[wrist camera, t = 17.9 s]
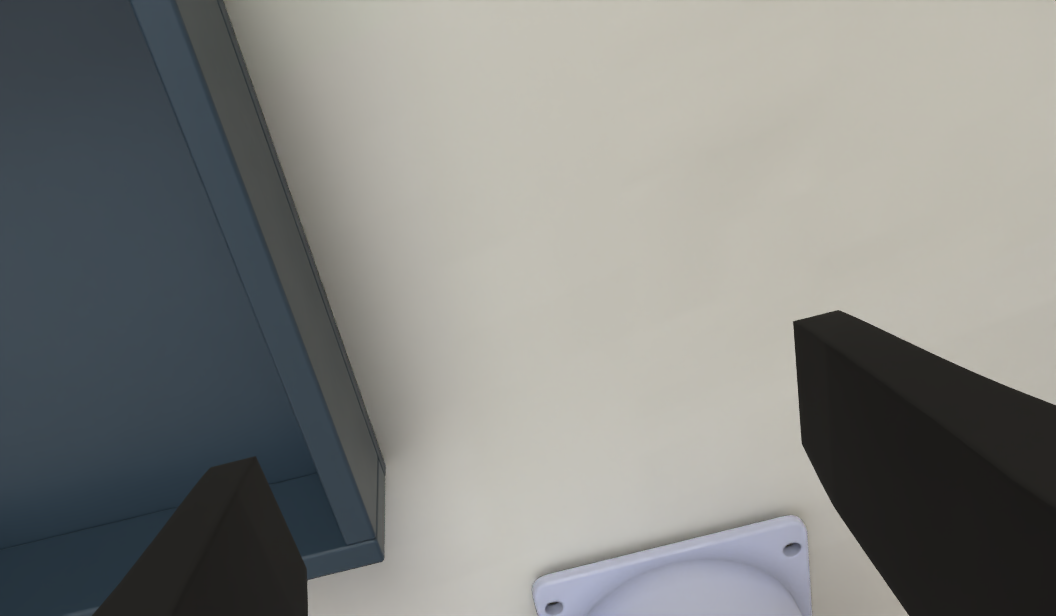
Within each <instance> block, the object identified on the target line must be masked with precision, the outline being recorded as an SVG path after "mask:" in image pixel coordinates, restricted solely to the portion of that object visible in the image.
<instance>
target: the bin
mask: <svg viewBox="0 0 1056 616" xmlns="http://www.w3.org/2000/svg"><path fill="white" fill-rule="evenodd" d="M254 456H256V457H257V460H258V462H259V464H260V466H261V468H262V471H263V473H264V475H265V477H266V479H267V482H268V484H269V486H270V488H271V491H272V493H273V495H274V497H275V499H276V502H277V504H278V506H279V508H280V510H281V513H282V515H283V517H284V519H285V521H286V524H287V526H288V528H289V530H290V533H291V535H292V537H293V539H294V541H295V544H296V546H297V548H298V550H299V552H300V555H301V557H302V559H303V561H304V564H305V566H306V568H307V580H310V579H314V578H318V577H322V576H326V575H330V574H334V573H338V572H342V571H346V570H350V569H354V568H359V567H363V566H367V565H371V564H375V563H379V562H382V561H383V560H384V544H385V463H384V460H383V457H382V454H381V451H380V448H379V446H378V443H377V440H376V437H375V434H374V431H373V428H372V426H371V423H370V420H369V417H368V414H367V411H366V408H365V406H364V403H363V400H362V397H361V394H360V391H359V388H358V386H357V383H356V380H355V377H354V374H353V371H352V368H351V365H350V363H349V360H348V357H347V354H346V351H345V348H344V345H343V343H342V340H341V337H340V334H339V331H338V328H337V325H336V323H335V320H334V317H333V314H332V311H331V308H330V305H329V302H328V300H327V297H326V294H325V291H324V288H323V285H322V282H321V280H320V277H319V274H318V271H317V268H316V265H315V262H314V260H313V257H312V254H311V251H310V248H309V245H308V242H307V240H306V237H305V234H304V231H303V228H302V225H301V222H300V219H299V217H298V214H297V211H296V208H295V205H294V202H293V199H292V197H291V194H290V191H289V188H288V185H287V182H286V179H285V177H284V174H283V171H282V168H281V165H280V162H279V159H278V156H277V154H276V151H275V148H274V145H273V142H272V139H271V136H270V134H269V131H268V128H267V125H266V122H265V119H264V116H263V114H262V111H261V108H260V105H259V102H258V99H257V96H256V94H255V91H254V88H253V85H252V82H251V79H250V76H249V73H248V71H247V68H246V65H245V62H244V59H243V56H242V53H241V51H240V48H239V45H238V42H237V39H236V36H235V33H234V31H233V28H232V25H231V22H230V19H229V16H228V13H227V10H226V8H225V5H224V2H223V0H0V616H92V615H93V614H94V613H95V611H96V610H97V609H98V608H99V607H100V606H101V604H102V603H103V602H104V601H105V600H106V598H107V597H108V596H109V595H110V594H111V593H112V591H113V590H114V589H115V588H116V587H117V585H118V584H119V583H120V582H121V581H122V579H123V578H124V577H125V575H126V574H127V573H128V572H129V570H130V569H131V568H132V566H133V565H134V564H135V563H136V561H137V560H138V559H139V557H140V556H141V555H142V554H143V552H144V551H145V550H146V549H147V547H148V546H149V545H150V543H151V542H152V541H153V540H154V538H155V537H156V536H157V534H158V533H159V532H160V530H161V529H162V528H163V527H164V525H165V524H166V523H167V521H168V520H169V519H170V517H171V516H172V515H173V513H174V512H175V511H176V509H177V508H178V507H179V506H180V504H181V503H182V502H183V500H184V499H185V498H186V496H187V495H188V494H189V493H190V491H191V490H192V489H193V487H194V486H195V485H196V484H197V482H198V481H199V480H200V479H201V477H202V476H203V475H204V474H205V473H206V472H207V470H208V469H209V468H210V467H214V466H218V465H222V464H226V463H230V462H234V461H238V460H242V459H246V458H250V457H254Z"/></svg>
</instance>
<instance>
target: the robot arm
mask: <svg viewBox="0 0 1056 616" xmlns="http://www.w3.org/2000/svg"><path fill="white" fill-rule="evenodd" d="M793 325H794V339H795V353H796V368H797V382H798V396H799V411H800V425H801V439H802V445H803V447H804V449H805V451H806V453H807V455H808V457H809V459H810V461H811V463H812V465H813V467H814V469H815V471H816V473H817V475H818V477H819V479H820V481H821V483H822V485H823V487H824V489H825V491H826V493H827V495H828V496H829V498H830V500H831V502H832V504H833V506H834V507H835V509H836V510H837V512H838V513H839V515H840V516H841V518H842V519H843V521H844V522H845V524H846V525H847V527H848V528H849V530H850V531H851V533H852V534H853V535H854V537H855V538H856V540H857V541H858V543H859V544H860V546H861V547H862V549H863V550H864V551H865V553H866V554H867V556H868V557H869V559H870V560H871V562H872V563H873V564H874V566H875V567H876V569H877V570H878V572H879V573H880V574H881V576H882V577H883V579H884V580H885V582H886V583H887V584H888V586H889V587H890V589H891V590H892V592H893V593H894V595H895V596H896V597H897V599H898V600H899V602H900V603H901V605H902V606H903V607H904V609H905V610H906V612H907V613H908V615H909V616H1056V405H1053V404H1051V403H1048V402H1046V401H1043V400H1040V399H1038V398H1035V397H1033V396H1030V395H1028V394H1025V393H1022V392H1020V391H1017V390H1015V389H1012V388H1010V387H1007V386H1005V385H1002V384H1000V383H998V382H995V381H993V380H990V379H988V378H986V377H983V376H981V375H979V374H976V373H974V372H972V371H970V370H967V369H965V368H963V367H961V366H958V365H956V364H954V363H952V362H949V361H947V360H945V359H943V358H941V357H939V356H936V355H934V354H932V353H930V352H928V351H926V350H924V349H921V348H919V347H917V346H915V345H913V344H911V343H909V342H907V341H905V340H902V339H900V338H898V337H896V336H894V335H892V334H890V333H888V332H886V331H884V330H881V329H879V328H877V327H875V326H873V325H871V324H869V323H867V322H865V321H862V320H860V319H858V318H856V317H853V316H851V315H849V314H846V313H844V312H842V311H839V310H837V311H833V312H829V313H825V314H821V315H817V316H813V317H809V318H805V319H801V320H797V321H793ZM790 543H793V544H792V545H790V546H788V547H785V546H786V545H788V544H790ZM532 594H533V599H534V603H535V607H536V610H537V614H538V616H812V602H811V585H810V568H809V551H808V533H807V529H806V526H805V525H804V523H803V521H802V520H801V519H800V518H799V517H798V516H794V515H786V516H782V517H778V518H774V519H770V520H765V521H761V522H757V523H753V524H749V525H745V526H741V527H737V528H733V529H729V530H725V531H721V532H717V533H713V534H709V535H705V536H700V537H696V538H692V539H688V540H684V541H680V542H676V543H672V544H668V545H664V546H660V547H656V548H652V549H648V550H644V551H640V552H636V553H631V554H627V555H623V556H619V557H615V558H611V559H607V560H603V561H599V562H595V563H591V564H587V565H583V566H579V567H575V568H571V569H567V570H562V571H558V572H554V573H550V574H546V575H544V576H541V577H539V578H538V579H537V580H536V581H535V582H534V583H533V585H532ZM551 602H558V603H556V604H554V605H548V604H549V603H551ZM92 616H308V598H307V568H306V566H305V564H304V561H303V559H302V557H301V555H300V552H299V550H298V548H297V546H296V544H295V541H294V539H293V537H292V535H291V533H290V530H289V528H288V526H287V524H286V521H285V519H284V517H283V515H282V513H281V510H280V508H279V506H278V504H277V502H276V499H275V497H274V495H273V493H272V491H271V488H270V486H269V484H268V482H267V479H266V477H265V475H264V473H263V471H262V468H261V466H260V464H259V462H258V460H257V457H256V456H254V457H250V458H246V459H242V460H238V461H234V462H230V463H226V464H222V465H218V466H214V467H210V468H209V469H208V470H207V472H206V473H205V474H204V475H203V476H202V477H201V479H200V480H199V481H198V482H197V484H196V485H195V486H194V487H193V489H192V490H191V491H190V493H189V494H188V495H187V496H186V498H185V499H184V500H183V502H182V503H181V504H180V506H179V507H178V508H177V509H176V511H175V512H174V513H173V515H172V516H171V517H170V519H169V520H168V521H167V523H166V524H165V525H164V527H163V528H162V529H161V530H160V532H159V533H158V534H157V536H156V537H155V538H154V540H153V541H152V542H151V543H150V545H149V546H148V547H147V549H146V550H145V551H144V552H143V554H142V555H141V556H140V557H139V559H138V560H137V561H136V563H135V564H134V565H133V566H132V568H131V569H130V570H129V572H128V573H127V574H126V575H125V577H124V578H123V579H122V581H121V582H120V583H119V584H118V585H117V587H116V588H115V589H114V590H113V591H112V593H111V594H110V595H109V596H108V597H107V598H106V600H105V601H104V602H103V603H102V604H101V606H100V607H99V608H98V609H97V610H96V611H95V613H94V614H93V615H92Z"/></svg>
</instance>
